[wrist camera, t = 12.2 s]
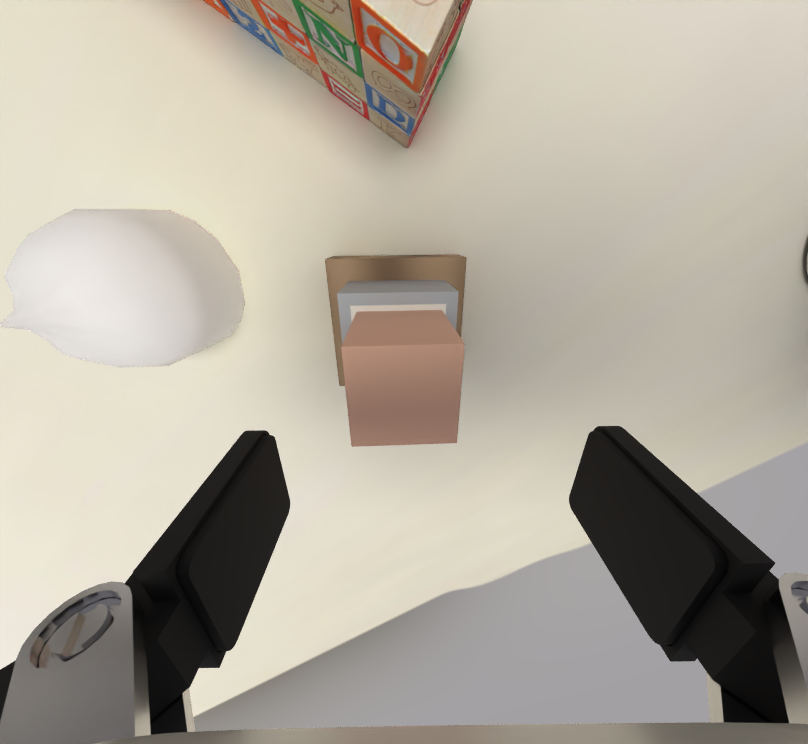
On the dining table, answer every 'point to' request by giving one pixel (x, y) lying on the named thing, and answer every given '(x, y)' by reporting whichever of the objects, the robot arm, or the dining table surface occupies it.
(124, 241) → the teardrop
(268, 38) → the stack of blocks
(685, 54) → the dining table surface
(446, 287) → the grey block
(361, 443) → the terracotta block
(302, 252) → the dining table surface
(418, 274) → the plinth
